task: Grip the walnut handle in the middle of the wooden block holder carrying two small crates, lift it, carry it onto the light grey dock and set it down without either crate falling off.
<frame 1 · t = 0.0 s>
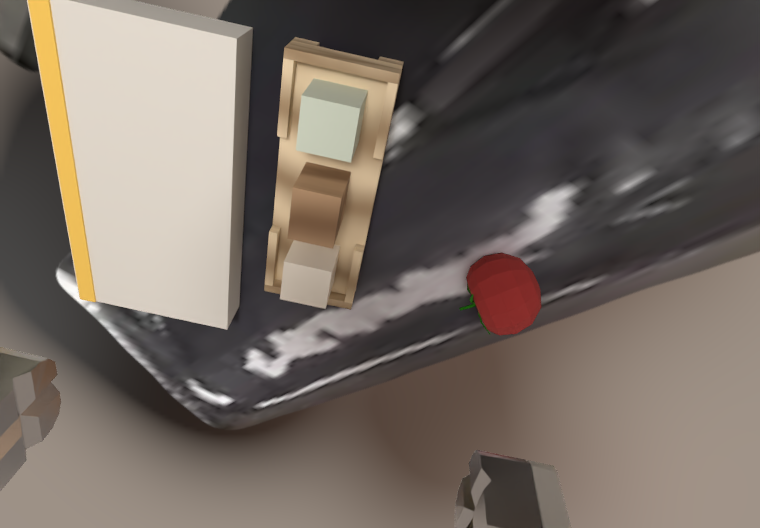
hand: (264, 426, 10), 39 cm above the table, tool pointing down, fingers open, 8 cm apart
wooden block holder: (330, 178, 51), on the table, touching crate a, crate b
tomato: (495, 270, 55), on the table
crate b: (337, 110, 44), point 2 cm above the table, touching wooden block holder
dock: (163, 171, 52), on the table
crate a: (315, 259, 53), point 2 cm above the table, touching wooden block holder
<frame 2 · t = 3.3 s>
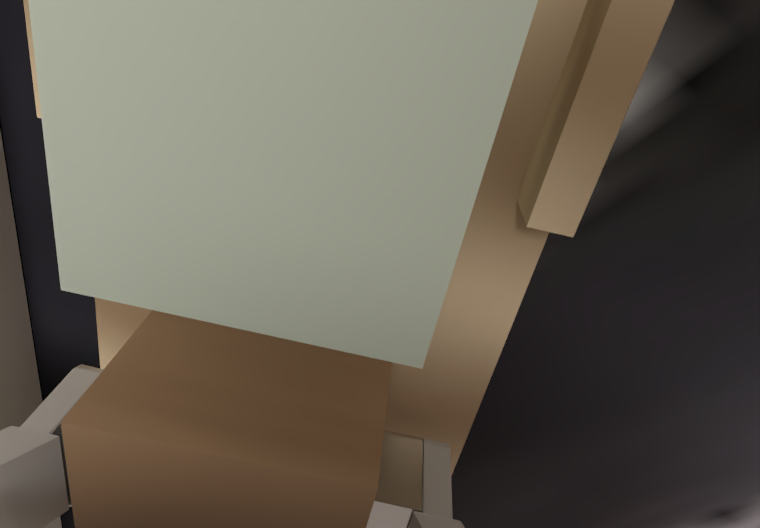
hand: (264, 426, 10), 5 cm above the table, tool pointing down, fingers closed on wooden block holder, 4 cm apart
wooden block holder: (314, 292, 15), on the table, touching crate a, crate b, gripper
crate b: (332, 76, 9), point 2 cm above the table, touching wooden block holder
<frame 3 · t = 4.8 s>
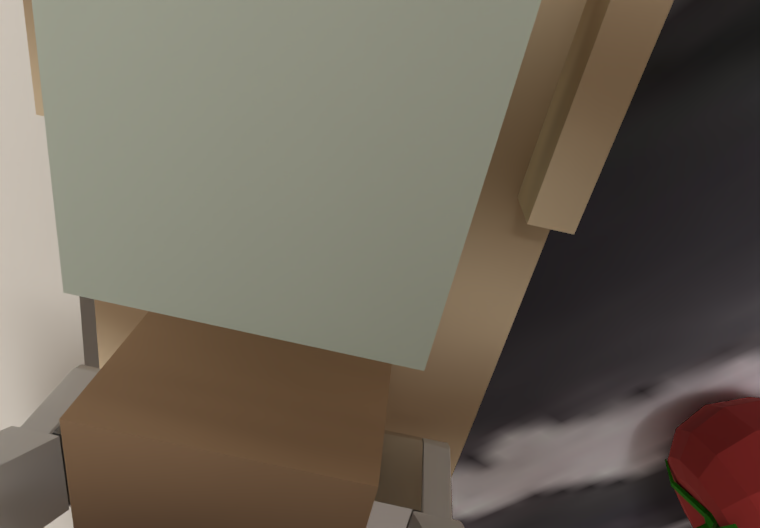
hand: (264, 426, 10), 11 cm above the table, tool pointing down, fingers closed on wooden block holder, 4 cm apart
wooden block holder: (314, 291, 15), point 6 cm above the table, touching crate a, crate b, gripper
tomato: (715, 427, 24), on the table
crate b: (333, 78, 9), point 9 cm above the table, touching wooden block holder
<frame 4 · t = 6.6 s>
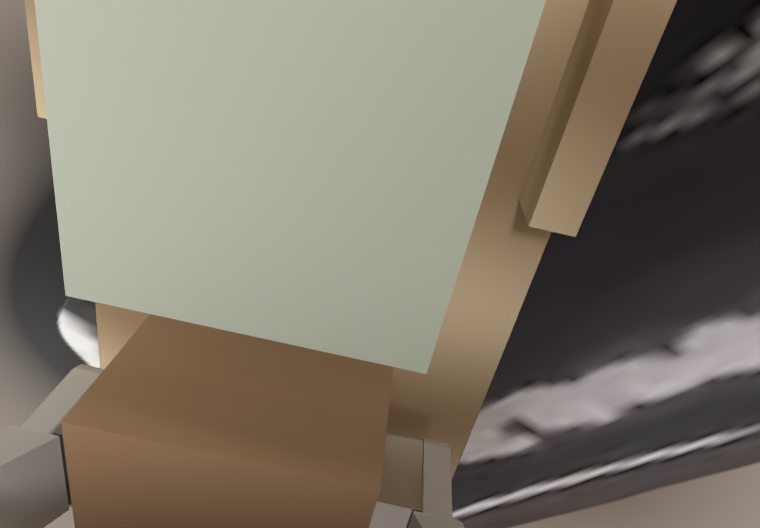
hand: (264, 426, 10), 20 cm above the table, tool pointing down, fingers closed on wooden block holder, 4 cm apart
wooden block holder: (315, 293, 15), point 15 cm above the table, touching crate a, crate b, gripper
crate b: (335, 80, 9), point 17 cm above the table, touching wooden block holder
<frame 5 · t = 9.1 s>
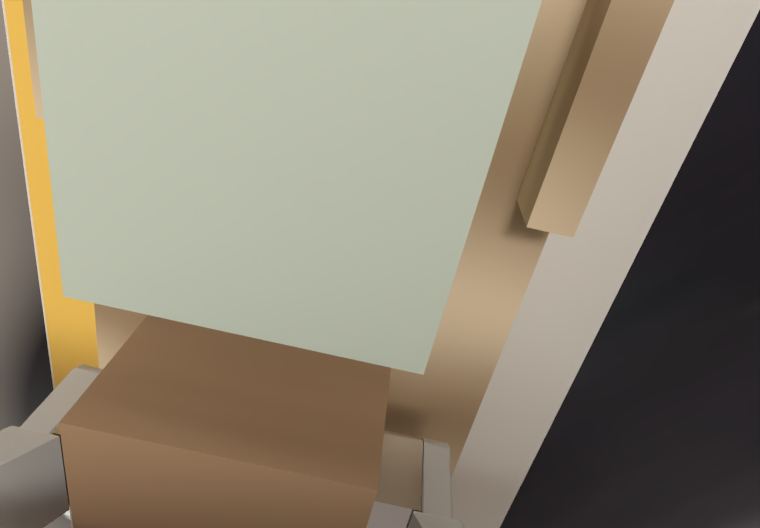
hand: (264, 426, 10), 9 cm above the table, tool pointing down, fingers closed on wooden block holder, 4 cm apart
wooden block holder: (313, 293, 15), point 5 cm above the table, touching crate a, crate b, gripper
crate b: (333, 81, 9), point 7 cm above the table, touching wooden block holder
dock: (336, 227, 19), on the table
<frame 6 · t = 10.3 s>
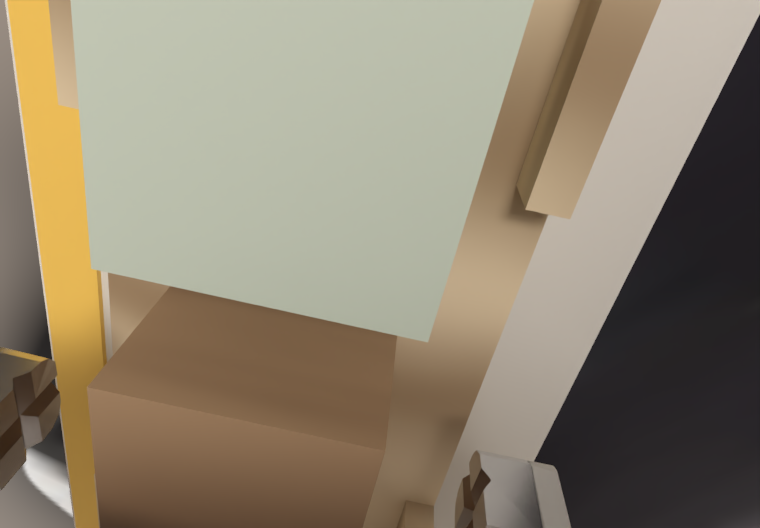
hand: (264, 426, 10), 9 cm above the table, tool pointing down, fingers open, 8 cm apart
wooden block holder: (319, 280, 15), point 4 cm above the table, touching crate a, crate b, dock
crate b: (340, 71, 10), point 7 cm above the table, touching wooden block holder
dock: (338, 224, 19), on the table
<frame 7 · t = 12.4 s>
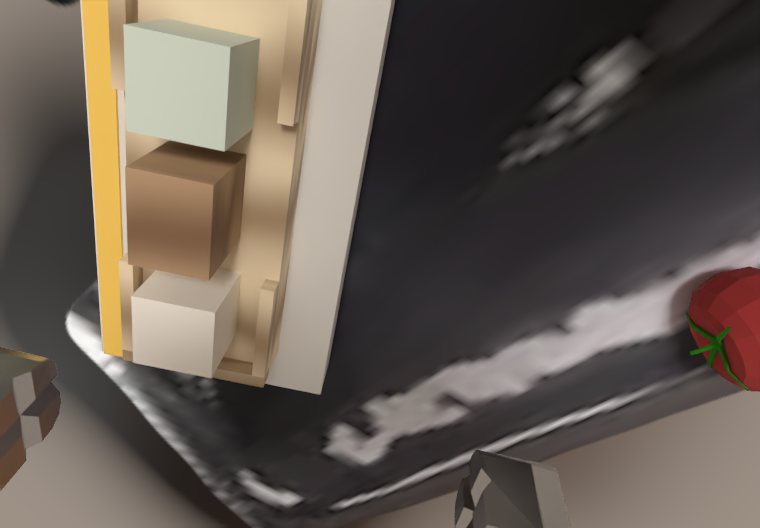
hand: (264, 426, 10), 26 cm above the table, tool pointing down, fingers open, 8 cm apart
wooden block holder: (223, 175, 32), point 4 cm above the table, touching crate a, crate b, dock
tomato: (717, 298, 38), on the table
crate b: (212, 75, 27), point 7 cm above the table, touching wooden block holder
dock: (243, 158, 36), on the table
crate a: (202, 296, 33), point 7 cm above the table, touching wooden block holder
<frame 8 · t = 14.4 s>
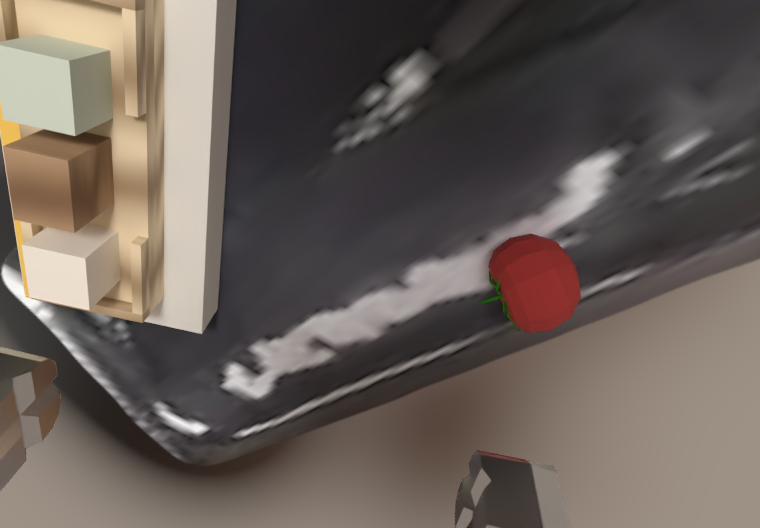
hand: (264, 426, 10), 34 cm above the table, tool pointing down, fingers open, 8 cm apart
wooden block holder: (105, 153, 41), point 4 cm above the table, touching crate a, crate b, dock
tomato: (521, 260, 46), on the table
crate b: (78, 77, 35), point 7 cm above the table, touching wooden block holder
dock: (130, 140, 44), on the table
crate a: (91, 249, 42), point 7 cm above the table, touching wooden block holder
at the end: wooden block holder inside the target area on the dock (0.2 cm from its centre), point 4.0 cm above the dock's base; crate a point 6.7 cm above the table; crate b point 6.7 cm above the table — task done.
